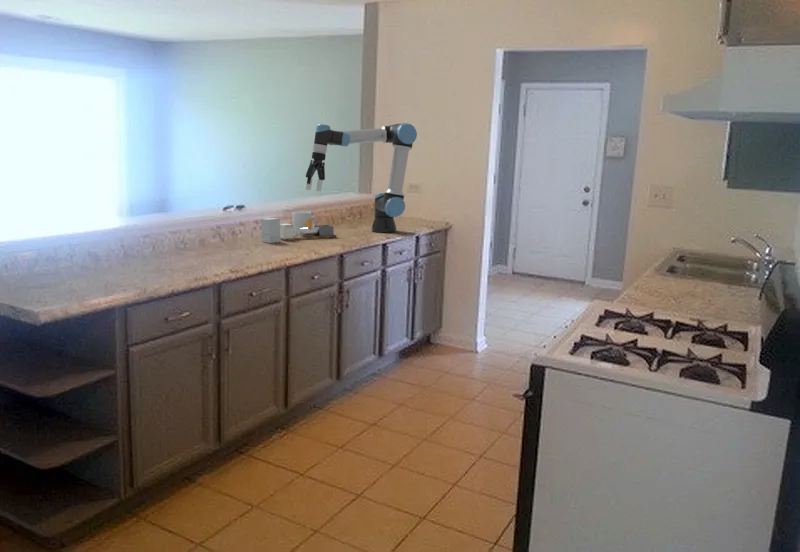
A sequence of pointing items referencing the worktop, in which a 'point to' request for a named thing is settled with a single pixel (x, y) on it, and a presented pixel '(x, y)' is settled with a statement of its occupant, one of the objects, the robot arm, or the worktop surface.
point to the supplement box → (270, 230)
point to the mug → (301, 220)
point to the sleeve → (325, 230)
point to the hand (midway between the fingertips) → (313, 190)
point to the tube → (308, 229)
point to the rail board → (307, 237)
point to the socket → (286, 231)
